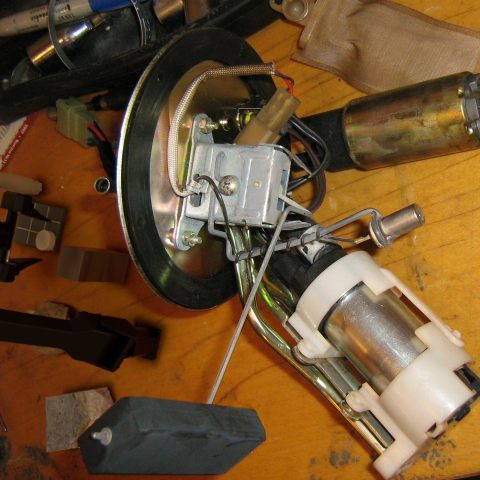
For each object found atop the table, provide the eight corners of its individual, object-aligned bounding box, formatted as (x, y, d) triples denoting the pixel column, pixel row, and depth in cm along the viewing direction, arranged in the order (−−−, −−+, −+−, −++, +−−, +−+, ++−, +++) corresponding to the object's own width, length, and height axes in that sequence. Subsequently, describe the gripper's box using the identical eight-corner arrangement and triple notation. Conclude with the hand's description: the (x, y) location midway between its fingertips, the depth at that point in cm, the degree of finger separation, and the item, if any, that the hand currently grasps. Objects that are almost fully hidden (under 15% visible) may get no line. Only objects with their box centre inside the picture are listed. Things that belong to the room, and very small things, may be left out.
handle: (29, 180, 111) (-39, 164, 97) (48, 176, 109) (-19, 159, 95) (28, 199, 110) (-40, 186, 96) (47, 196, 108) (-20, 182, 94)
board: (67, 209, 105) (62, 208, 104) (57, 252, 105) (53, 251, 104) (26, 200, 111) (22, 199, 109) (17, 241, 110) (12, 240, 109)
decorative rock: (30, 351, 106) (80, 354, 101) (13, 354, 102) (64, 358, 97) (31, 301, 106) (81, 302, 101) (14, 302, 102) (65, 303, 97)
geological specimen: (40, 398, 96) (90, 388, 90) (67, 393, 101) (115, 383, 95) (43, 453, 93) (94, 446, 88) (70, 444, 99) (120, 437, 93)
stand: (130, 254, 97) (84, 250, 86) (123, 282, 97) (77, 281, 86) (109, 249, 99) (62, 244, 89) (103, 276, 99) (55, 275, 89)
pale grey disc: (57, 232, 104) (51, 231, 103) (53, 252, 104) (47, 252, 103) (43, 229, 106) (38, 228, 104) (39, 248, 106) (33, 248, 104)
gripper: (-42, 180, 93) (31, 195, 108) (-63, 270, 93) (13, 273, 107) (-8, 187, 89) (64, 202, 103) (-29, 282, 88) (46, 283, 103)
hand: (45, 240), depth 104 cm, fingers open, 8 cm apart
